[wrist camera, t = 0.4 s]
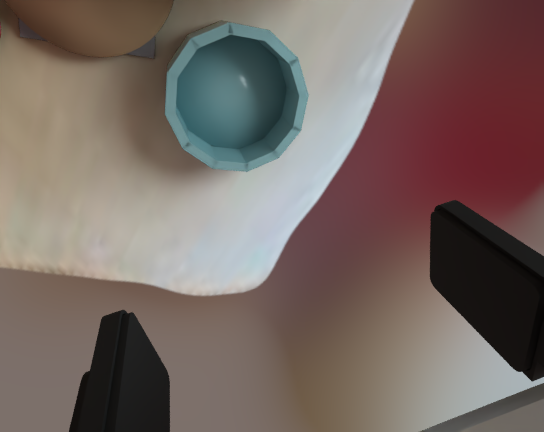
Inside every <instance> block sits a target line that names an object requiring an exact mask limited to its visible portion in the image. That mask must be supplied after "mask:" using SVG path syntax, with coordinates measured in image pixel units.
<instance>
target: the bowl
mask: <svg viewBox="0 0 544 432" xmlns="http://www.w3.org/2000/svg"><path fill="white" fill-rule="evenodd" d="M308 96H309V95H308V91H307V88H306V84H305V80H304V77H303V73H302V70H301V66H300V63H299V59H298V57H297V56H295V55H294V54H293V53H292V52H291V51H290V50H289V49H288V48H287V47H286V46H285V45H284V44H283V43H282V42H281V41H280V40H279V39H278V38H277V37H276V36H275V35H274V34H273V33H272V32H271V31H270V30H266V29H261V28H256V27H251V26H246V25H241V24H236V23H231V22H226V21H219V22H217V23H214V24H212V25H210V26H207V27H205V28H202V29H200V30H198V31H195V32H193V33H190V34H188V35H187V37H186V38H185V39H184V41H183V42H182V44H181V45H180V47H179V48H178V50H177V51H176V53H175V54H174V56H173V57H172V59H171V60H170V62H169V63H168V65H167V80H166V100H165V115H166V117H167V119H168V121H169V123H170V125H171V127H172V129H173V131H174V133H175V135H176V137H177V139H178V141H179V143H180V145H181V147H182V149H184V150H185V151H187V152H188V153H190V154H191V155H193V156H194V157H196V158H197V159H199V160H200V161H202V162H203V163H205V164H206V165H208V166H209V167H211V168H212V169H221V170H234V171H246V172H247V171H250V170H252V169H254V168H257V167H259V166H261V165H264V164H266V163H268V162H271V161H273V160H275V159H278V158H279V157H280V156H281V155H282V153H283V152H284V151H285V150H286V148H287V147H288V146H289V145H290V144H291V142H292V141H293V140H294V139H295V137H296V136H297V135H298V134H299V133H300V131H301V128H302V123H303V119H304V114H305V109H306V105H307V100H308Z"/></svg>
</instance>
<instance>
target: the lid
mask: <svg viewBox="0 0 544 432" xmlns="http://www.w3.org/2000/svg"><path fill="white" fill-rule="evenodd" d="M173 1H174V0H5V2H6V3H7V5H8V6H9V7H10V8H11V10H12V11H13V12H14V13H15V14H16V15H17V16H18V18H19V19H21V20H22V21H23V22H24V23H25V24H26V25H27V26H28V27H29V28H30V29H32V30H33V31H34V32H36V33H37V34H38V35H39V36H41V37H42V38H44V39H46V40H47V41H49V42H51V43H52V44H54V45H56V46H58V47H60V48H63V49H65V50H68V51H70V52H73V53H76V54H81V55H85V56H92V57H112V56H118V55H123V54H126V53H129V52H132V51H134V50H136V49H138V48H140V47H141V46H143V45H144V44H145V43H147V42H148V41H150V40H151V39H152V38H153V37H154V36H155V35H156V34H157V32H158V31H159V30H160V29H161V27H162V26H163V24H164V23H165V21H166V19H167V17H168V15H169V13H170V10H171V8H172V5H173Z"/></svg>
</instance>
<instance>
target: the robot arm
mask: <svg viewBox="0 0 544 432" xmlns="http://www.w3.org/2000/svg"><path fill="white" fill-rule="evenodd" d="M430 280H431V282H432V284H433V286H434V287H435V289H436V290H437V291H438V292H439V293H440V294H441V295H442V296H443V297H444V298H445V299H446V300H447V301H448V302H449V303H450V304H451V305H452V306H453V307H454V308H455V309H456V310H457V311H458V312H459V313H460V314H461V315H462V316H463V317H464V318H465V319H466V320H467V321H468V323H469V324H470V325H472V327H473V328H474V329H476V331H477V332H478V333H479V334H480V335H481V336H482V337H483V338H484V339H485V340H486V341H487V342H488V343H489V344H490V345H491V346H492V347H493V348H494V349H495V350H496V351H497V352H498V353H499V354H500V355H501V356H502V357H503V359H504V360H506V361H507V363H508V364H509V365H510V366H511V367H513V369H515V370H516V371H518V372H523V373H524V374H525V375H526V376H527V377H528V378H529V379H530V380H531V381H534V380H537V379H540V378H542V377H544V256H542V255H541V254H539V253H538V252H536V251H534V250H533V249H531V248H530V247H528V246H527V245H525V244H524V243H522V242H521V241H519V240H517V239H516V238H514V237H513V236H511V235H510V234H508V233H507V232H505V231H504V230H502V229H500V228H499V227H497V226H496V225H494V224H493V223H491V222H489V221H488V220H487V219H485V218H483V217H482V216H480V215H479V214H477V213H476V212H474V211H473V210H471V209H470V208H468V207H466V206H465V205H463V204H462V203H460V202H458V201H456V200H453V201H450V202H447V203H444V204H441V205H438V206H436V207H435V210H434V212H432V214H431V233H430ZM69 432H170V381H169V375H168V372H167V370H166V368H165V366H164V364H163V363H162V361H161V359H160V358H159V356H158V354H157V352H156V351H155V349H154V347H153V345H152V344H151V342H150V340H149V339H148V337H147V335H146V333H145V332H144V330H143V328H142V326H141V325H140V323H139V322H138V320H137V318H136V316H135V315H134V313H132V312H131V313H127V312H126V311H125V310H121V311H118V312H115V313H112V314H109V315H106V316H104V317H102V319H101V323H100V328H99V332H98V337H97V341H96V346H95V351H94V355H93V360H92V364H91V369H90V371H88V372H86V373H85V374H84V375H83V377H82V380H81V383H80V387H79V391H78V396H77V400H76V404H75V409H74V412H73V417H72V421H71V425H70V429H69ZM420 432H544V383H543V384H540V385H537V386H535V387H532V388H529V389H527V390H524V391H522V392H519V393H517V394H514V395H512V396H509V397H506V398H504V399H501V400H499V401H496V402H493V403H491V404H488V405H486V406H483V407H481V408H478V409H476V410H473V411H471V412H468V413H465V414H463V415H460V416H458V417H455V418H453V419H450V420H447V421H445V422H442V423H440V424H437V425H435V426H432V427H430V428H427V429H425V430H422V431H420Z"/></svg>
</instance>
